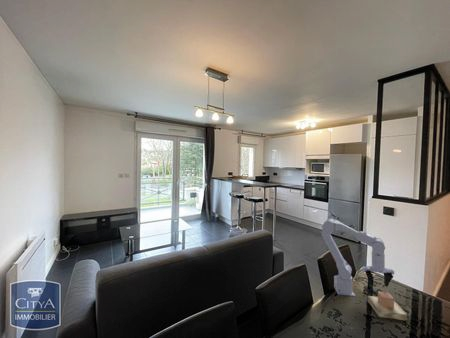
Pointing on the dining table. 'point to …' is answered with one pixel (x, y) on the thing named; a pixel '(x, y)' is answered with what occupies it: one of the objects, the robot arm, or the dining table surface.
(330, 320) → the dining table surface
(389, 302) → the terracotta cube
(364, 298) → the dining table surface
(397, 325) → the dining table surface
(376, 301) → the birch base
